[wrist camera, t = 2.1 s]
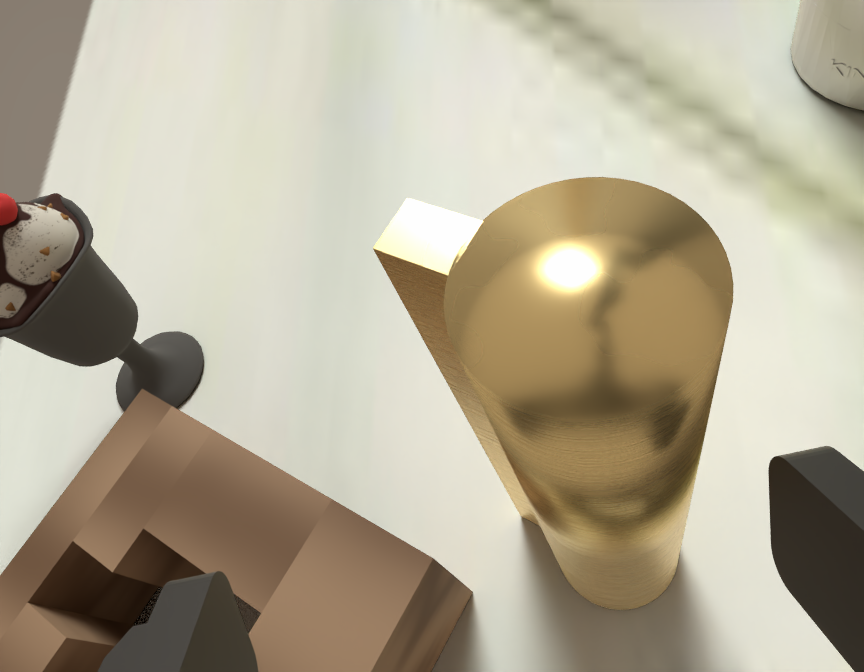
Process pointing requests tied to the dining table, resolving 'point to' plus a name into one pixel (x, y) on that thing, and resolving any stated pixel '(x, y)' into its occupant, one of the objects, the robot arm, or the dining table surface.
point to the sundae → (82, 303)
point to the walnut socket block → (217, 559)
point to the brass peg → (578, 361)
